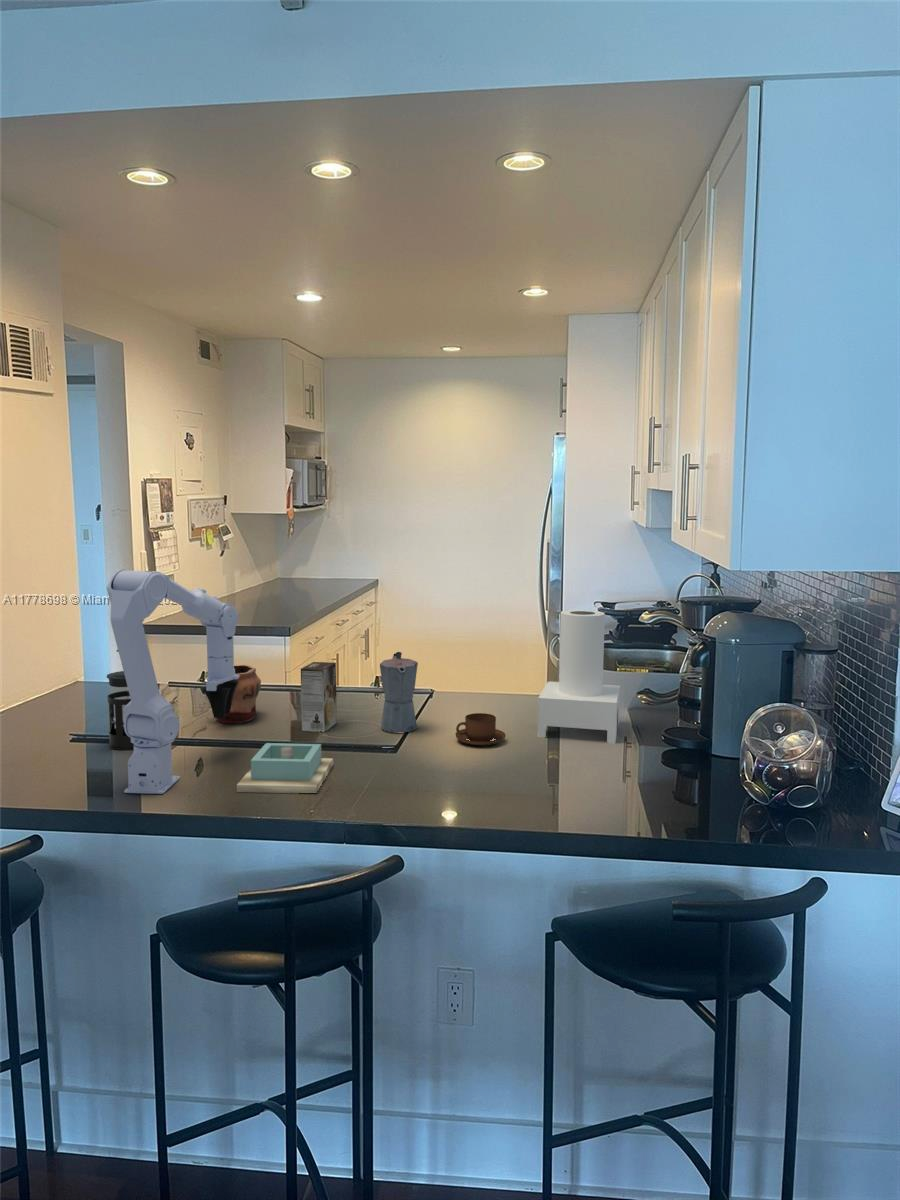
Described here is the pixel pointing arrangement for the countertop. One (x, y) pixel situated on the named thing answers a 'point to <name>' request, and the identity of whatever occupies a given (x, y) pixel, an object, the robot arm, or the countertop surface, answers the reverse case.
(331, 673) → the coffee box
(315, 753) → the square loop
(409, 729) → the moka pot
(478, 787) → the countertop surface
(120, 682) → the french press
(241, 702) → the decorative planter
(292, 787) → the post board
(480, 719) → the cup and saucer
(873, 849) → the countertop surface
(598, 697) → the paper towel holder
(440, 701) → the countertop surface
